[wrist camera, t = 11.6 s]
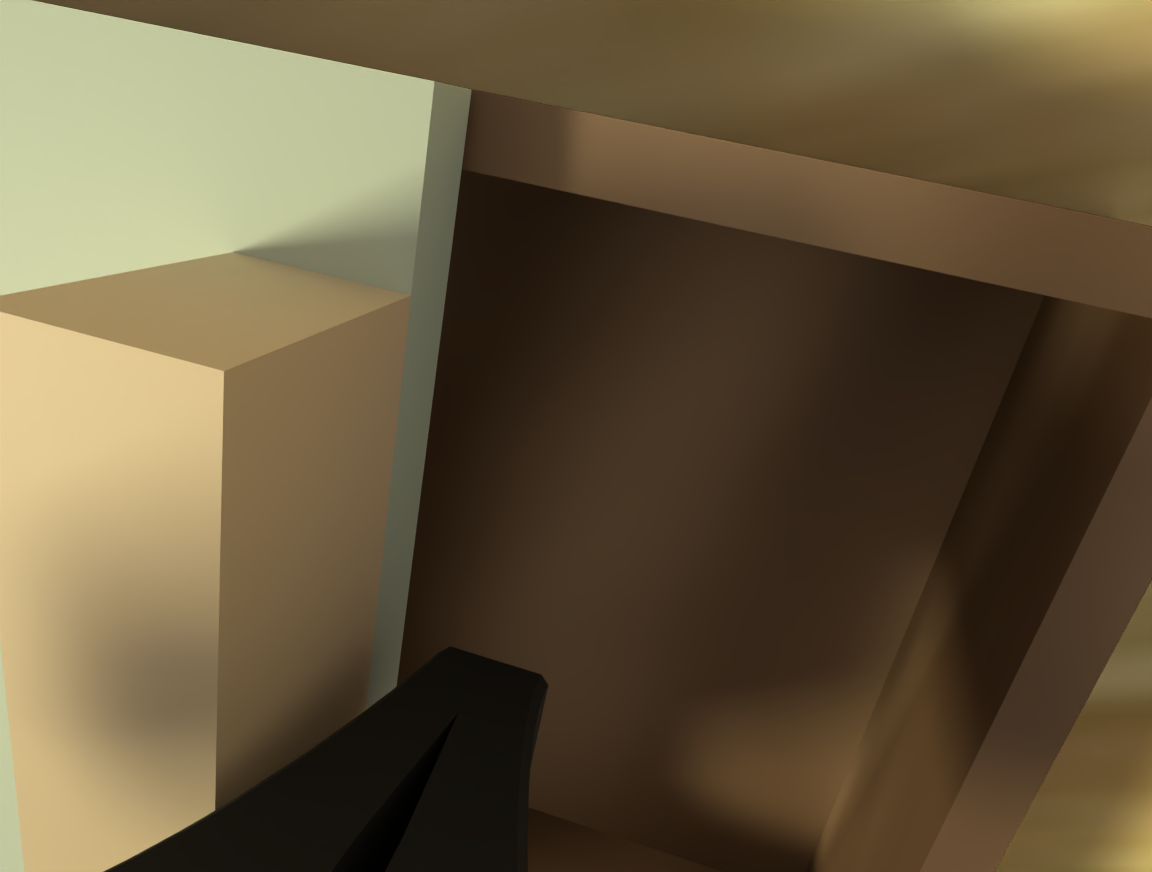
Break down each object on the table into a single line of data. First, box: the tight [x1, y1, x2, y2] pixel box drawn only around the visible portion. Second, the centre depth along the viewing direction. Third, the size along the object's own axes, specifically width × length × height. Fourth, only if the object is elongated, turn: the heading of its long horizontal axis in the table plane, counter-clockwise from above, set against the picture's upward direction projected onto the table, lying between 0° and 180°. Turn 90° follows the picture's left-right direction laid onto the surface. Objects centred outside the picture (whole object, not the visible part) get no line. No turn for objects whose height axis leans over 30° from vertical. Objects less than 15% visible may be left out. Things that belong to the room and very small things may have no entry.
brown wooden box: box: [396, 90, 1152, 872], centre depth 13 cm, size 18×14×4 cm
